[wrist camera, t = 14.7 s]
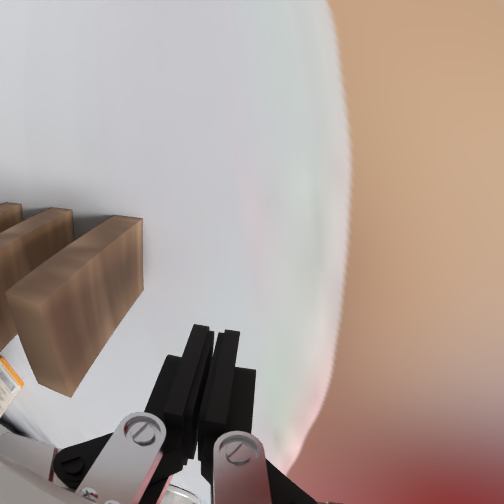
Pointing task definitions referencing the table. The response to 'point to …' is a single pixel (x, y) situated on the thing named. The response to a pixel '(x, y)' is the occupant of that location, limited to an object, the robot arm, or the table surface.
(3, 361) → the supplement box
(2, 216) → the domino
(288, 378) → the table surface
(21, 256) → the domino
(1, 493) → the robot arm
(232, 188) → the table surface
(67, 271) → the domino
